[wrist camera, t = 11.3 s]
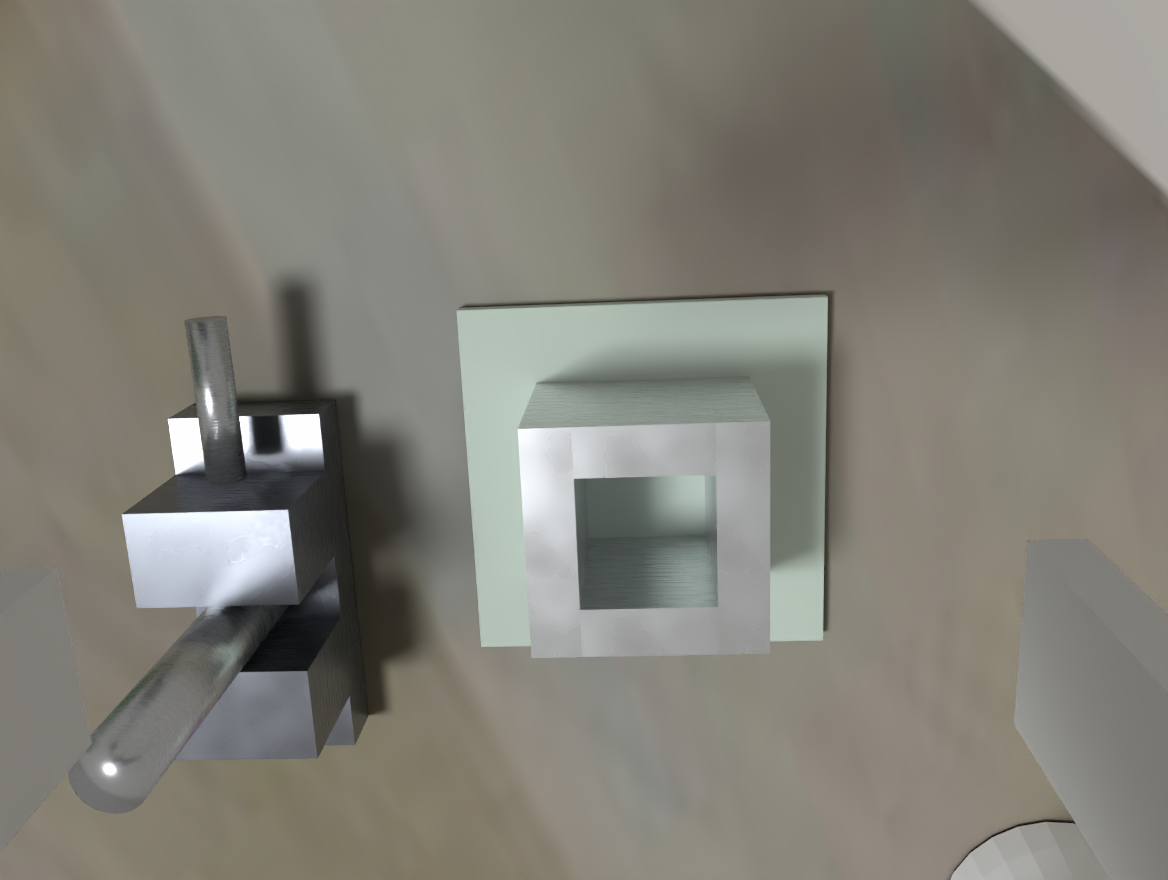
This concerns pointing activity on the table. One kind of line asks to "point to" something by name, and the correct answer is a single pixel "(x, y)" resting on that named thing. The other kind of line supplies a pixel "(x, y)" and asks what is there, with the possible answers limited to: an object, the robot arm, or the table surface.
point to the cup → (1033, 856)
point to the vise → (237, 591)
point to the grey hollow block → (646, 564)
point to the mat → (663, 503)
